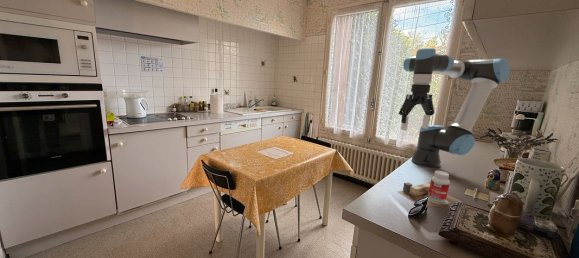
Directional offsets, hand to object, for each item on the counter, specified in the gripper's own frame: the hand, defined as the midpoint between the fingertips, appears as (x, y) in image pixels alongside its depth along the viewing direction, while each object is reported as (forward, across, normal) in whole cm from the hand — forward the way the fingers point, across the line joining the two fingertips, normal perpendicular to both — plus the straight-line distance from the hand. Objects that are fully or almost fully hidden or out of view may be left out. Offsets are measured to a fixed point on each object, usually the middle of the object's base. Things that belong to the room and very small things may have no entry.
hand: (414, 129), depth 112 cm
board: (+24, +11, +20) cm, 34 cm away
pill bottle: (+23, +10, +23) cm, 34 cm away
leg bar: (+23, +10, +18) cm, 30 cm away
